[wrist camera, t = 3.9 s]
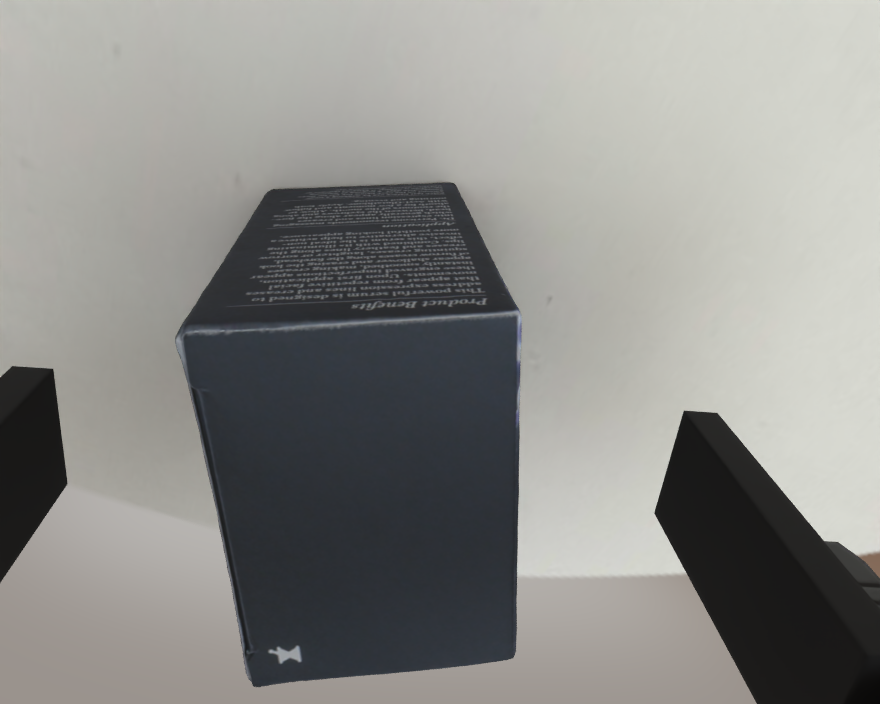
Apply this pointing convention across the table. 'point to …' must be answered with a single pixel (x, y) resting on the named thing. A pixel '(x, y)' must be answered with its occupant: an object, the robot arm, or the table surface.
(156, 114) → the table surface
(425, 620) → the box
